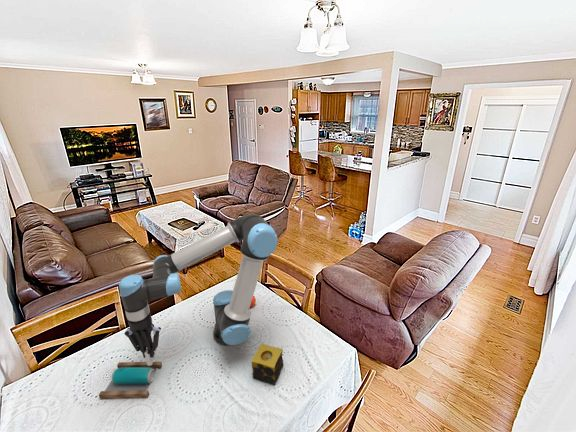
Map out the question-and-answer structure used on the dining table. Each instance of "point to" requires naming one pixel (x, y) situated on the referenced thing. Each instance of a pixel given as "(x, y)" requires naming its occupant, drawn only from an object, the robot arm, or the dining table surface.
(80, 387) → the dining table surface
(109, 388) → the mat
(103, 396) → the rail left
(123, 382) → the beverage can
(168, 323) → the dining table surface
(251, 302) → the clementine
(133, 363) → the rail right
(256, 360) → the candle
